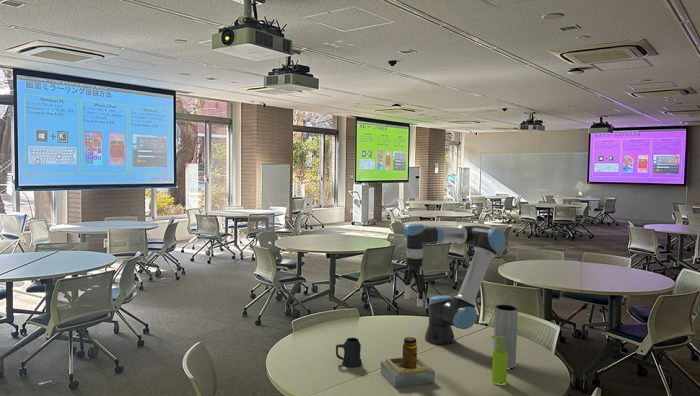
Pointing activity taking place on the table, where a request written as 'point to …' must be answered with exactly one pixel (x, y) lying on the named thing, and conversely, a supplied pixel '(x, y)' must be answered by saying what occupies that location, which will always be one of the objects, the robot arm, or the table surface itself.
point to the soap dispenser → (499, 362)
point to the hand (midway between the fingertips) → (413, 302)
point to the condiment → (409, 354)
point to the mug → (350, 353)
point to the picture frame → (407, 373)
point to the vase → (506, 330)
